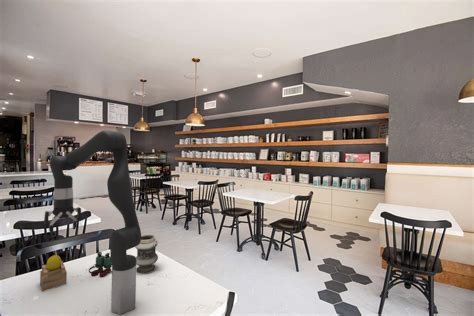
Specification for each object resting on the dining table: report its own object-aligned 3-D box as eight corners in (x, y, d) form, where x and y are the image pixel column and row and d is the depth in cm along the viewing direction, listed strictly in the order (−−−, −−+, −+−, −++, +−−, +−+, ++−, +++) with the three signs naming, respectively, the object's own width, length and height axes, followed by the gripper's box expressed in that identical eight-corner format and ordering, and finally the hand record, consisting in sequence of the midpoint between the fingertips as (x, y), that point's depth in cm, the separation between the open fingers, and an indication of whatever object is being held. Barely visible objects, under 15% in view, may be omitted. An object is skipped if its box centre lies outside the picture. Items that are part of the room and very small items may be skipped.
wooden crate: (66, 284, 111) (66, 267, 111) (42, 291, 105) (42, 273, 105) (63, 276, 118) (63, 260, 118) (40, 283, 111) (40, 266, 111)
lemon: (43, 274, 108) (44, 258, 107) (49, 268, 113) (50, 252, 113) (57, 274, 109) (58, 257, 109) (62, 268, 115) (63, 252, 114)
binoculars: (85, 260, 116) (98, 250, 126) (86, 279, 117) (99, 268, 127) (101, 261, 115) (114, 251, 125) (102, 281, 116) (115, 269, 126)
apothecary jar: (132, 266, 130) (133, 235, 130) (154, 261, 137) (155, 231, 136) (136, 276, 120) (137, 242, 120) (160, 271, 127) (161, 238, 126)
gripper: (45, 200, 103) (45, 236, 104) (82, 196, 114) (82, 229, 114) (43, 198, 109) (43, 232, 109) (79, 194, 119) (79, 226, 119)
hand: (63, 230), depth 111 cm, fingers open, 8 cm apart
